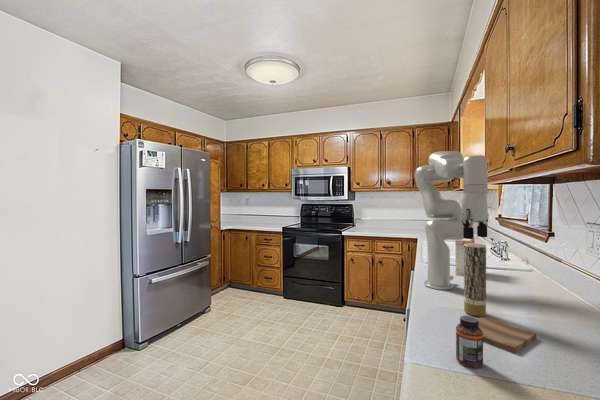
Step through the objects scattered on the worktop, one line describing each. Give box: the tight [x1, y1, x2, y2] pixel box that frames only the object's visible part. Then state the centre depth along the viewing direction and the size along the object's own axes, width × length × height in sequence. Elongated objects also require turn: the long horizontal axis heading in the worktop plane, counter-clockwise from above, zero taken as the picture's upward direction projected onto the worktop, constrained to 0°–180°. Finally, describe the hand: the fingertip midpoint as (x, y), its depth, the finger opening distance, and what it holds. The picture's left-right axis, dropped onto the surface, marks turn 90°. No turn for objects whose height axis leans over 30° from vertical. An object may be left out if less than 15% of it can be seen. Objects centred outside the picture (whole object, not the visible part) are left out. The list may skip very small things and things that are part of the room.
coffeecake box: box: [454, 237, 476, 277], centre depth 160 cm, size 15×7×20 cm, turn 139°
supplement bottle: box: [455, 315, 484, 369], centre depth 73 cm, size 6×6×11 cm
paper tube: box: [463, 242, 487, 318], centre depth 105 cm, size 7×7×25 cm
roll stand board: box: [477, 316, 537, 354], centre depth 88 cm, size 15×15×2 cm
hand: (475, 237), depth 104 cm, fingers open, 9 cm apart
